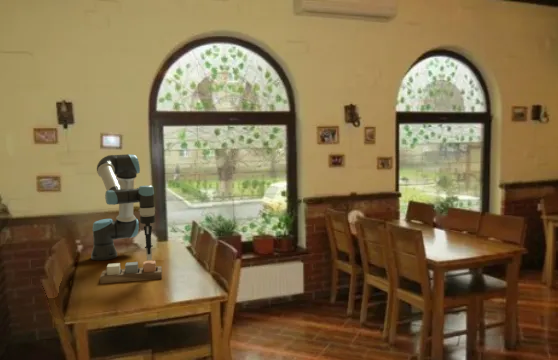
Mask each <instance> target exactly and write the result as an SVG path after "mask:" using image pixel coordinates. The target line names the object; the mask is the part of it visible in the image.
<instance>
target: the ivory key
mask: <svg viewBox="0 0 558 360" xmlns="http://www.w3.org/2000/svg"><path fill="white" fill-rule="evenodd" d="M121 269H122V268H121V263H120V262H116V263H108V264H107V266H106V270H107V275H116V274H120V272H121Z"/></svg>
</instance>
